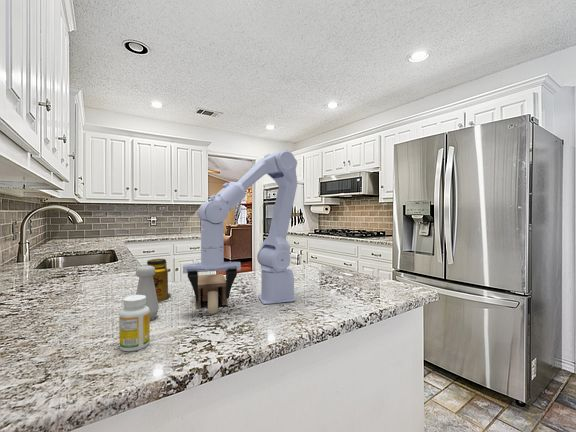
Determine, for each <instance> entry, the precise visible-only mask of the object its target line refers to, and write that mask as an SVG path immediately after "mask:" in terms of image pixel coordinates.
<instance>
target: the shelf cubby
mask: <svg viewBox="0 0 576 432" xmlns="http://www.w3.org/2000/svg"><path fill="white" fill-rule="evenodd" d="M212 287H218V296H219V295H220V296H219V299H220V298H221V299H220V302H221V301H222V302H221V304H222V306H223V305H226V306H228V299H226V277H225V276H224V274H223V273H216V274H215V273H214V274H198V296H199V301H196V298H195V309H198V308H197V307H200V308H201V297H200V296H202V288H212Z"/></svg>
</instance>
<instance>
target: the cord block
mask: <svg viewBox="0 0 576 432" xmlns="http://www.w3.org/2000/svg"><path fill="white" fill-rule="evenodd" d="M201 298H202V301H203V302H207V313H208V314H210V313H211V315H214V314H217V313H218V312H219V295H218V287H212V288H202V297H201Z"/></svg>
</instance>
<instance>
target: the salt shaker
mask: <svg viewBox="0 0 576 432" xmlns="http://www.w3.org/2000/svg"><path fill="white" fill-rule="evenodd" d="M153 275H155V268H154V267H153V266H147V265H142V266H138V267H137V268H136V269H135V276H136V277H137V278H138V282H137V288H136V292H135V295H145V296H146V304H145V305H146V306H148V307H149V309H150V321H153V320H154V319H156V317H157V314H158V312H159V309H160V306H159V302H158V300H157V295H156V290H155V285H154V280H153Z"/></svg>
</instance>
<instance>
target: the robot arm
mask: <svg viewBox="0 0 576 432" xmlns="http://www.w3.org/2000/svg"><path fill="white" fill-rule="evenodd" d="M297 166H298V160H297V159H296V157H295V155H294V154H293V153H292V152H291V151H290V150H288V149H283V150H280V151H277V152H274V153H271V154H270V153H269V154H266V155H264V156H263V158H261V159H259V160H258V161H257V162H256V163H255V164H254V165H252V166H251V168H250V169H249V170H248V171H246V172H245V174H244V175H242V177H241V178H239V180H237V181H229V182H225V183H224V184H222V187H223V188H221V189H220V190H219V191H218V192H217V193H216V194H212V195H211V196H209V198H210V201H205V202H203V203H202V204H201V205H200V207H199V209H198V211H197V212H196V213H197V217H198V218H199V220H200V221H201V223H200V225H201V227H200V228H201V229H200V262H199V263H196V262H195V263H188V264H186V263H185V264H183V265H182V274H187V278H188V280H189V282H190V284H191V287H192V289H193V292H194V297H195V298H196V300H195V302H196V301H199V296H198V275H199V273H206V272H207V273H209V272H221V271H222V272H223V271H225V280H226V299H227V300H229V299H230V293H231V290H232V287H233V285H234V282H235V280H236V277H237V275H238V271H241V269H242V265H241V261H225V260H224V259H225V258H224V257H225V255H224V253H225V252H224V251H225V250H224V249H225V247H224V246H225V245H224V244H225V241H224V237H225V236H224V234H225V233H224V232H225V230H224V224H225V223H224V221H226V220H227V219H228V214H229V212H231V211H232V210H233V209H234V208H235V207H236V206H237V205H238V204H239V203H240V202H241V201H242V200H243V199H245V197H246V191H247V190H248V189H249V188H250V187H252V186H253V185H254V184H255V183H257V182H258V180H260V179H262V177H263V176H265V175H268V176H269V177H270V178H271V179H272V180H273V181H274V182H275V183H276V184H277V186H278V188H277V193H276V199H275V202H274V207H273V211H272V217H271V221H270V227H269V231H268V236H267V237H266V238H265V239H264V240H263V241H262V244H261V247H260V248H259V249H258V252H257V255H256V260H257V262H258V264H259V265H260V269H261V276H260V277H261V278H260V279H261V282H260V284H261V286H260V287H261V294H258V295H257V298H258V299H259V301H261V303H262V304H263V305H270V304H271V305H272V304H280V303H289V302H295V301H296V299H295V277H294V275H295V274H294V272H293V269H290V268H289V266H290V263H291V255H290V251H291V246H290V243H289V242H288V240H287V238H288V237H287V236H288V233H289V226H290V223H291V217H292V212H293V206H294V201H295V196H296V193H297V188H298V177H297Z"/></svg>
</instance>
